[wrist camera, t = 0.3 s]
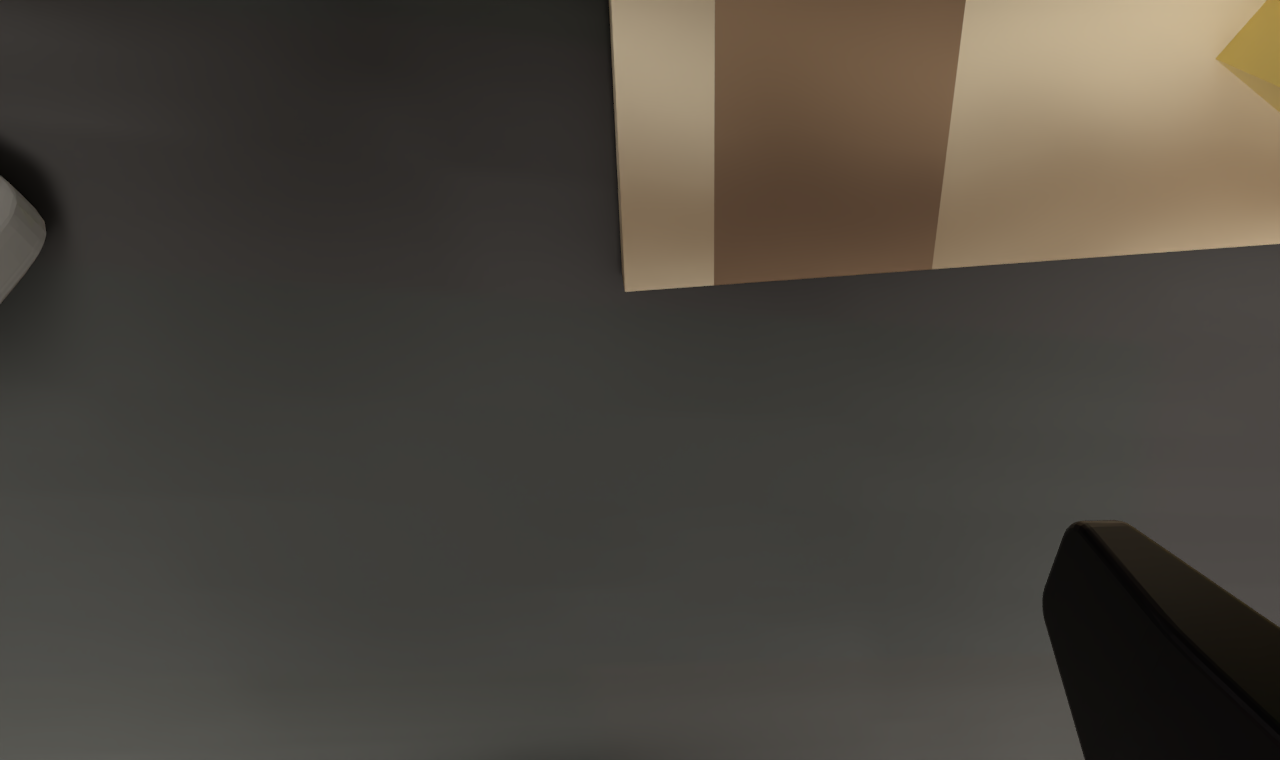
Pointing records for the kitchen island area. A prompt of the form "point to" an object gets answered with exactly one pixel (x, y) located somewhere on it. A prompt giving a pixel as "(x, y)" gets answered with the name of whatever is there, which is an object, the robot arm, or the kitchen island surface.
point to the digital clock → (17, 237)
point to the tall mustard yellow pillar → (1258, 53)
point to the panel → (930, 135)
